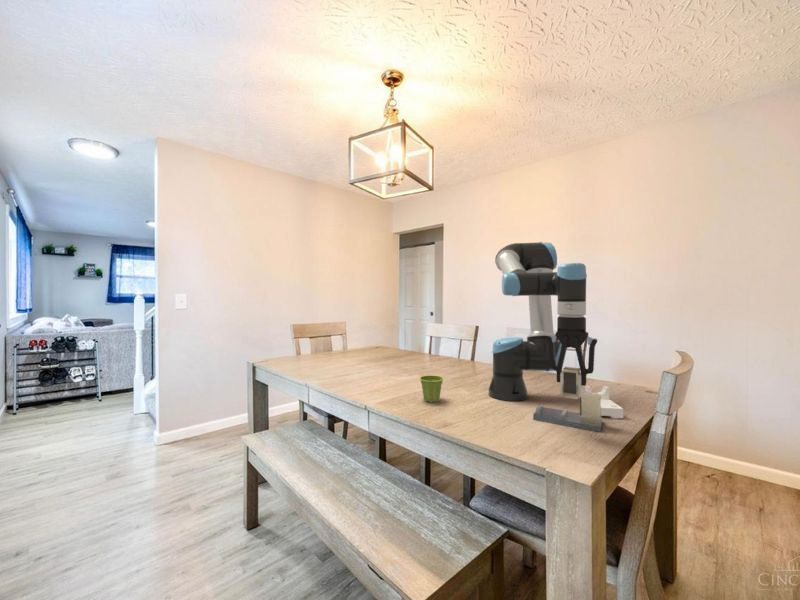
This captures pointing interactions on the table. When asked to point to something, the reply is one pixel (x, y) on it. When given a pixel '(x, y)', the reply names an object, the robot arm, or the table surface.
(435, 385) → the plant pot
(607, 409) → the bracket
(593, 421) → the grey base stand
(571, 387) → the wooden block
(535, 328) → the robot arm
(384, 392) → the table surface
